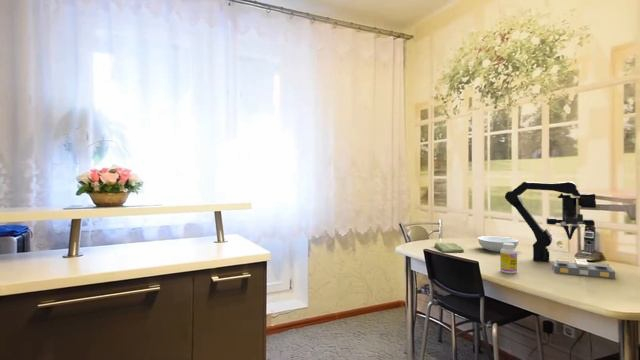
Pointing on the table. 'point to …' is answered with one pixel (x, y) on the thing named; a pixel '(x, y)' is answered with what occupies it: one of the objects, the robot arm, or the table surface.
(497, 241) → the serving bowl
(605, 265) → the block
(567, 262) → the rocker
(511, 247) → the supplement bottle
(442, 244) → the washcloth
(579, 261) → the rocker
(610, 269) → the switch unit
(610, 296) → the table surface
